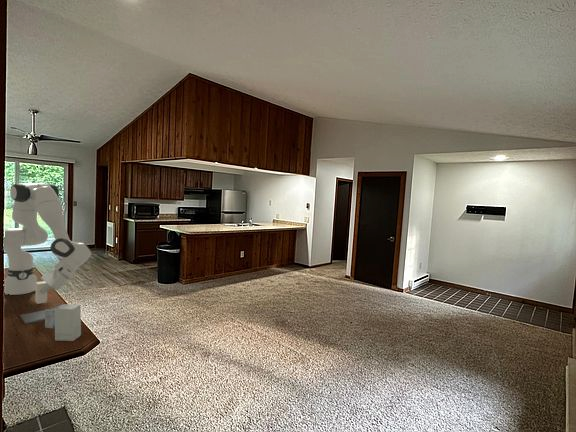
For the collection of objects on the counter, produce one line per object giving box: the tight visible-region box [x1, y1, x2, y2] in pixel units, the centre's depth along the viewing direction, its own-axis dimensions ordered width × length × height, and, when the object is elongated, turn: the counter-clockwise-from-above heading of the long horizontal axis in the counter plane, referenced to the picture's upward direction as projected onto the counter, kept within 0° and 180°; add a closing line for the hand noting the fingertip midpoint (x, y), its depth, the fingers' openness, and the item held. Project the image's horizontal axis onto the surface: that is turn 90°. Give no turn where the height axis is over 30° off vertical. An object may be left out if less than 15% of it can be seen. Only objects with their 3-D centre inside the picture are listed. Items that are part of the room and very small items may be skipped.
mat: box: [19, 309, 46, 325], centre depth 158 cm, size 12×14×1 cm
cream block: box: [34, 280, 48, 305], centre depth 158 cm, size 4×4×10 cm
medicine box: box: [44, 304, 61, 329], centre depth 151 cm, size 8×4×9 cm, turn 168°
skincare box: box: [54, 303, 82, 342], centre depth 139 cm, size 8×6×15 cm
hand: (39, 291), depth 157 cm, fingers closed on cream block, 4 cm apart
